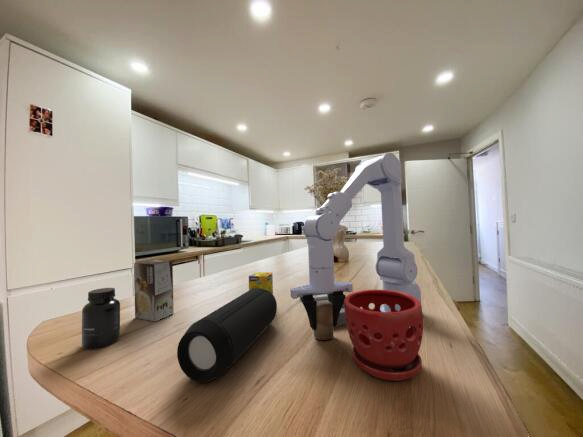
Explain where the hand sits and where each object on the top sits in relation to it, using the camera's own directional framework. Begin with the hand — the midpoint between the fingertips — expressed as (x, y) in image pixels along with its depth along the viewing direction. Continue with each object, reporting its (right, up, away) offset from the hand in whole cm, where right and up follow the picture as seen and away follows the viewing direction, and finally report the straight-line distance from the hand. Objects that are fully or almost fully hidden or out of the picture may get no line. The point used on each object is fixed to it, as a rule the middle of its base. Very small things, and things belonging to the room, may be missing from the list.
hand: (323, 326), depth 53 cm
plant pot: (+9, -2, -11) cm, 15 cm away
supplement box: (-16, -4, +18) cm, 25 cm away
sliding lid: (+2, 0, +22) cm, 22 cm away
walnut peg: (0, -2, 0) cm, 2 cm away
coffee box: (-48, -4, +16) cm, 51 cm away
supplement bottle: (-51, -4, 0) cm, 51 cm away
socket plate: (+4, -3, +17) cm, 18 cm away
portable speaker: (-19, -3, -3) cm, 19 cm away
